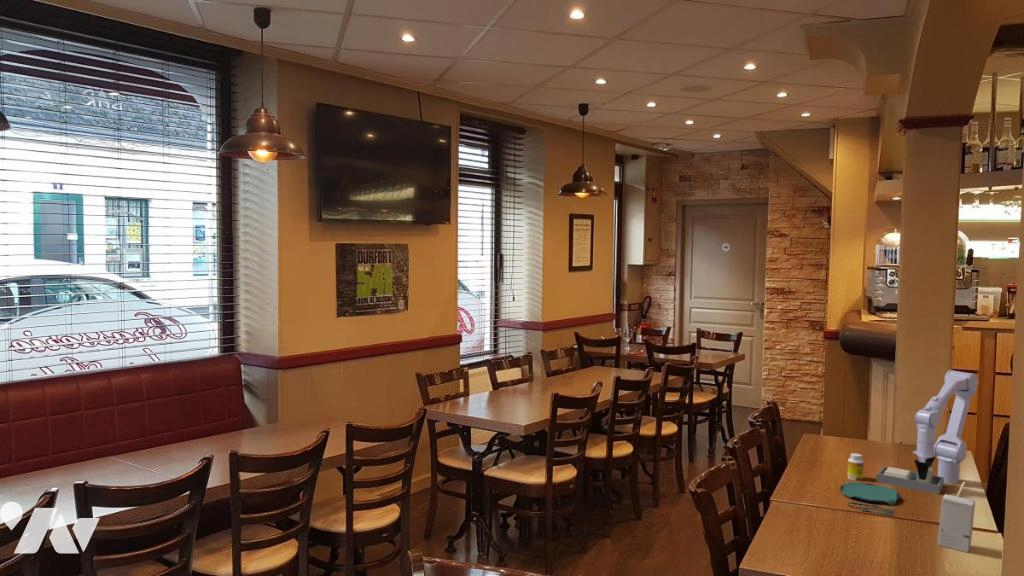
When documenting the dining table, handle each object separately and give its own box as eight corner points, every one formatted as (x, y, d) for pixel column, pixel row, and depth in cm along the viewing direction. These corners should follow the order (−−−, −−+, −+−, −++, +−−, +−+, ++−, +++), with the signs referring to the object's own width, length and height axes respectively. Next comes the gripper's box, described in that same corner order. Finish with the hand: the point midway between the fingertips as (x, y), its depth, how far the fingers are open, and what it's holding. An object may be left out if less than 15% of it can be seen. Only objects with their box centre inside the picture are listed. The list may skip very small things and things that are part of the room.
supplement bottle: (857, 483, 276) (858, 457, 276) (844, 479, 281) (845, 453, 280) (865, 481, 279) (866, 455, 279) (852, 477, 284) (853, 451, 284)
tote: (883, 476, 286) (883, 466, 286) (943, 487, 273) (944, 477, 273) (876, 484, 276) (876, 473, 276) (938, 496, 263) (939, 485, 263)
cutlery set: (900, 493, 267) (900, 487, 267) (900, 520, 240) (900, 513, 240) (841, 484, 276) (841, 478, 276) (835, 509, 250) (836, 503, 250)
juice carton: (918, 483, 275) (919, 463, 275) (931, 486, 272) (932, 465, 272) (915, 486, 271) (917, 466, 271) (929, 489, 269) (930, 468, 268)
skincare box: (937, 545, 218) (940, 497, 217) (941, 539, 223) (943, 492, 222) (969, 553, 213) (972, 504, 212) (972, 547, 217) (975, 499, 217)
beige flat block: (887, 476, 283) (888, 466, 283) (910, 480, 279) (910, 470, 278) (883, 481, 276) (883, 471, 276) (906, 486, 271) (906, 476, 271)
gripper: (917, 436, 279) (915, 470, 280) (910, 443, 268) (908, 479, 268) (937, 439, 275) (935, 474, 275) (932, 447, 263) (930, 483, 264)
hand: (923, 476), depth 272 cm, fingers open, 7 cm apart
